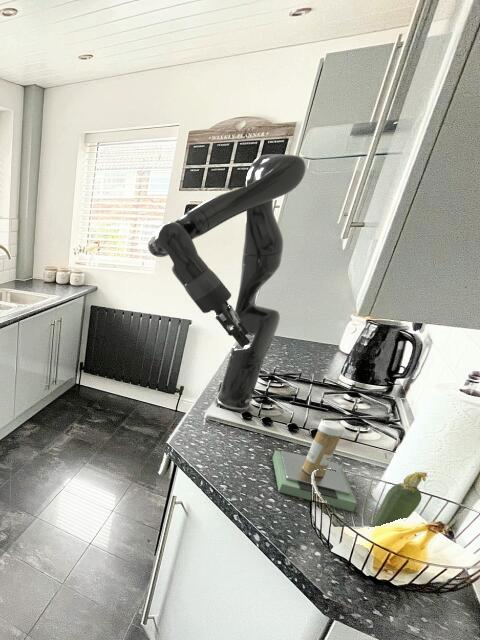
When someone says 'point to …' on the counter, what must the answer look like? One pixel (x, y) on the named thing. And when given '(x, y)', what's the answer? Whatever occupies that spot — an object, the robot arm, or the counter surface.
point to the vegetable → (400, 500)
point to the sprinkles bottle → (323, 447)
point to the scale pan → (297, 474)
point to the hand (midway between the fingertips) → (245, 339)
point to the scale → (305, 490)
